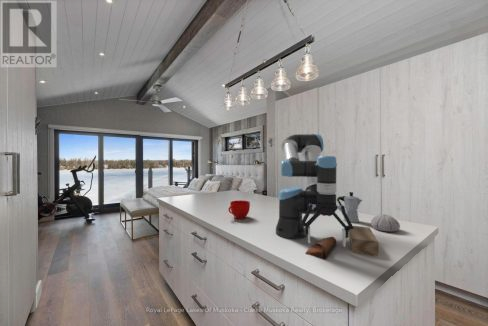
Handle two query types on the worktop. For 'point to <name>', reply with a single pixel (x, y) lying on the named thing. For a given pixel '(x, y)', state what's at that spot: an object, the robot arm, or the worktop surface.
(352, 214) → the coffee maker
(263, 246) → the worktop surface
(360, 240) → the walnut block
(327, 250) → the sunglasses case
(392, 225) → the sea urchin shell
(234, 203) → the ceramic cup
